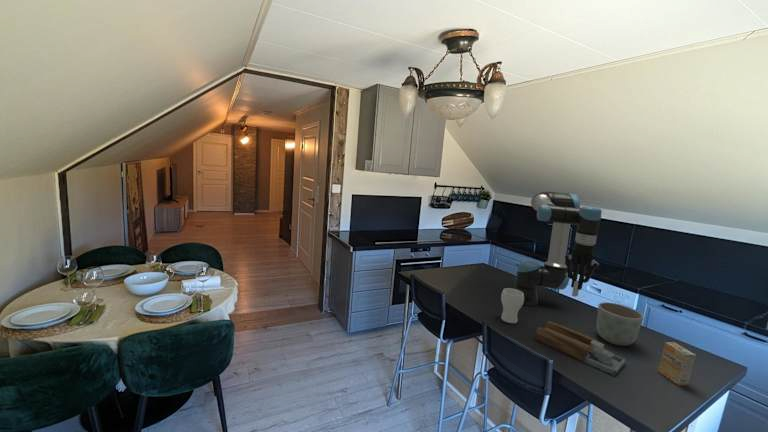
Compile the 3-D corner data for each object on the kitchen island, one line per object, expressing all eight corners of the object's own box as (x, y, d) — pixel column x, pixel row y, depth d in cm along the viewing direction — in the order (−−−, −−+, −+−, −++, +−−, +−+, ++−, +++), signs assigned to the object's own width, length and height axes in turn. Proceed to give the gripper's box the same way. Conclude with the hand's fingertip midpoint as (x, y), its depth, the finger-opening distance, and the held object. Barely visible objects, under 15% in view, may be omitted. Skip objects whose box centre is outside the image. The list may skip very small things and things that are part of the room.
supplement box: (657, 371, 130) (664, 341, 128) (668, 371, 130) (675, 341, 128) (677, 385, 122) (685, 354, 120) (688, 386, 122) (696, 354, 120)
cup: (522, 326, 159) (526, 297, 156) (499, 322, 161) (503, 294, 158) (518, 316, 169) (522, 289, 167) (496, 313, 171) (500, 286, 169)
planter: (628, 336, 158) (634, 306, 155) (643, 354, 142) (650, 322, 139) (588, 328, 163) (594, 299, 160) (598, 345, 147) (604, 313, 144)
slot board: (547, 331, 156) (549, 320, 155) (594, 351, 141) (597, 340, 140) (535, 339, 148) (537, 328, 147) (583, 361, 133) (586, 349, 132)
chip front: (603, 348, 135) (614, 353, 132) (600, 357, 136) (611, 362, 133) (600, 351, 132) (611, 357, 129) (597, 360, 133) (608, 365, 130)
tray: (595, 351, 141) (596, 346, 141) (624, 364, 133) (625, 359, 133) (583, 362, 132) (584, 357, 132) (614, 376, 124) (615, 371, 124)
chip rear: (591, 347, 138) (593, 339, 137) (602, 353, 135) (604, 344, 134) (588, 350, 136) (590, 342, 135) (598, 356, 133) (601, 347, 132)
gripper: (564, 240, 140) (555, 291, 144) (599, 248, 130) (588, 303, 135) (571, 238, 145) (562, 288, 149) (605, 246, 135) (594, 299, 139)
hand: (574, 295), depth 142 cm, fingers closed
